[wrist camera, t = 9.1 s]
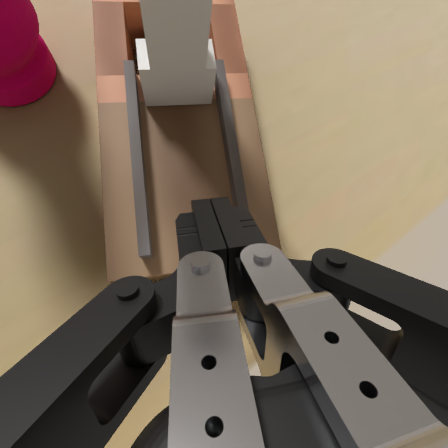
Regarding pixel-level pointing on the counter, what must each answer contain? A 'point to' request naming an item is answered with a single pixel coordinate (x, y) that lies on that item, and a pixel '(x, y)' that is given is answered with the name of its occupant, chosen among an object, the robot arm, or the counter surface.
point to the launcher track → (171, 145)
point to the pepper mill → (23, 55)
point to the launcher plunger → (176, 52)
